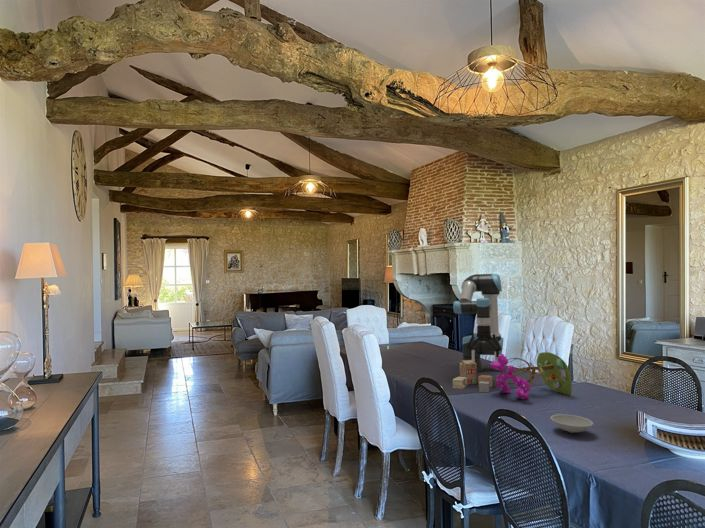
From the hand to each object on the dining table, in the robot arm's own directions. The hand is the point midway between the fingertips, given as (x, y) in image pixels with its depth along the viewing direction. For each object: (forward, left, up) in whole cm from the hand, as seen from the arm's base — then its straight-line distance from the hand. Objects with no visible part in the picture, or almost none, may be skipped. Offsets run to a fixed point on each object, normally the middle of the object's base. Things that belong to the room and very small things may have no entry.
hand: (484, 362), depth 289 cm
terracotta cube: (0, 0, -14) cm, 14 cm away
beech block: (+8, -12, -14) cm, 20 cm away
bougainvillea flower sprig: (+9, +28, -14) cm, 32 cm away
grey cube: (+12, +4, -14) cm, 19 cm away
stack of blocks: (-11, -15, -14) cm, 24 cm away
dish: (+64, +60, -14) cm, 89 cm away
